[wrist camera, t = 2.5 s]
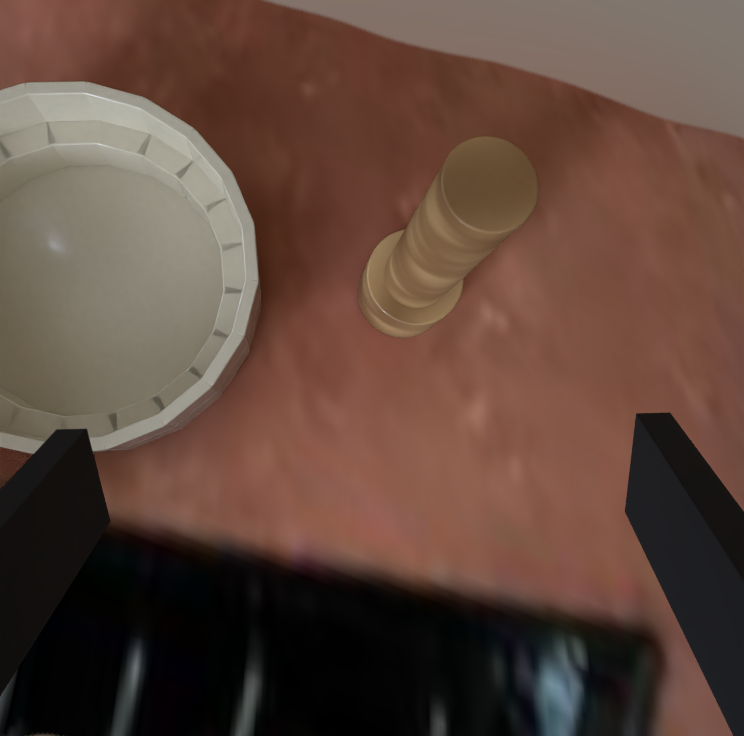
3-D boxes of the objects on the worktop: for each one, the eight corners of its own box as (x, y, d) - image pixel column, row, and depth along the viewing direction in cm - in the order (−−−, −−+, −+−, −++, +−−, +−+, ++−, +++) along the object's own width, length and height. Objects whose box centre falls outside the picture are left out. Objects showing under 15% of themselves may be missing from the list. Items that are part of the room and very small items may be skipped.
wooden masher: (339, 287, 37) (384, 171, 21) (405, 233, 38) (495, 82, 22) (397, 356, 37) (485, 289, 21) (462, 299, 38) (593, 195, 22)
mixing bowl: (-143, 270, 34) (-232, 233, 28) (124, 81, 37) (94, 11, 31) (74, 521, 34) (31, 536, 28) (323, 312, 37) (332, 287, 31)
